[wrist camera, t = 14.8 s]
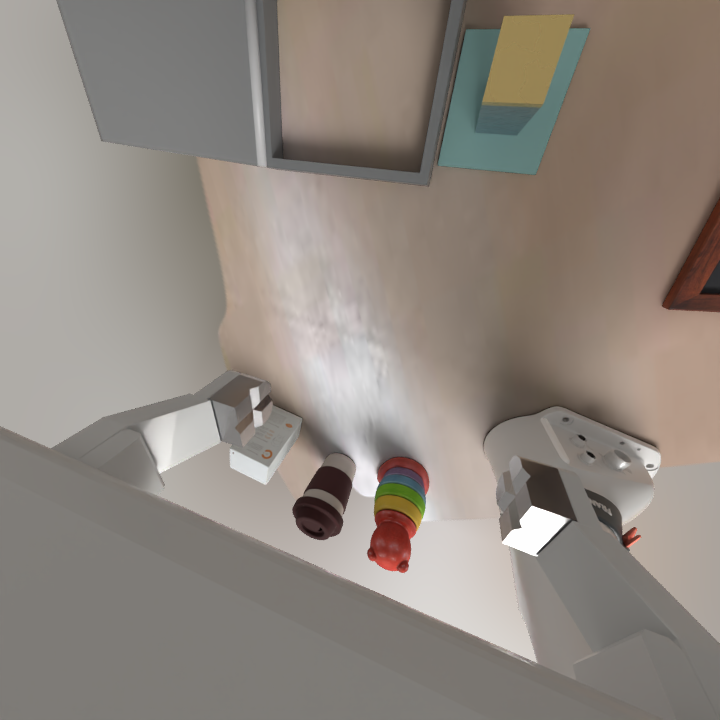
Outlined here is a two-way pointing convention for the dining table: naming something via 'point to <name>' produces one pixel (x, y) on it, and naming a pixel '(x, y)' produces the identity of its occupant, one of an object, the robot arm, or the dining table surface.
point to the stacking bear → (397, 512)
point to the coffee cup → (326, 498)
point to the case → (208, 80)
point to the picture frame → (700, 272)
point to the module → (521, 71)
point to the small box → (267, 446)
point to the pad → (467, 99)
